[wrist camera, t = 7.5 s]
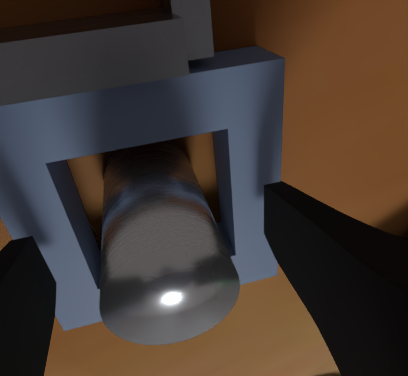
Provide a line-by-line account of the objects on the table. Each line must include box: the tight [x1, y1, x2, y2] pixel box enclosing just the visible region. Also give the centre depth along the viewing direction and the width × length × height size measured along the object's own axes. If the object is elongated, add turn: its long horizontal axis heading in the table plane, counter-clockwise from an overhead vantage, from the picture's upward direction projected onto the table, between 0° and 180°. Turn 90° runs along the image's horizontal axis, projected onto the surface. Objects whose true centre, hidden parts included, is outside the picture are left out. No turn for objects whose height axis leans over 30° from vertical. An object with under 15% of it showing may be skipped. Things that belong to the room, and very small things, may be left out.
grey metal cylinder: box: [99, 140, 240, 345], centre depth 10 cm, size 3×3×6 cm
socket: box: [0, 46, 285, 331], centre depth 12 cm, size 9×9×2 cm
